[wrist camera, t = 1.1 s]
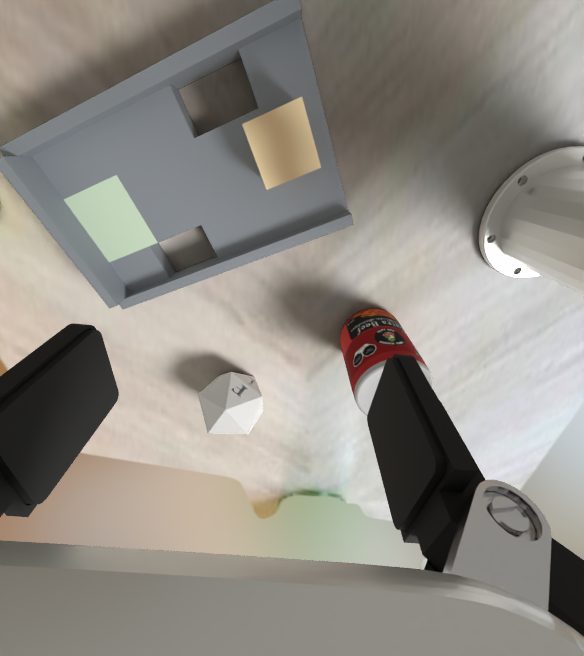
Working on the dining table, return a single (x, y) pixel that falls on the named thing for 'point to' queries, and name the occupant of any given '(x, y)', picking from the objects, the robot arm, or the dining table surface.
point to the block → (282, 143)
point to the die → (231, 404)
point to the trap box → (179, 166)
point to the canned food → (373, 351)
